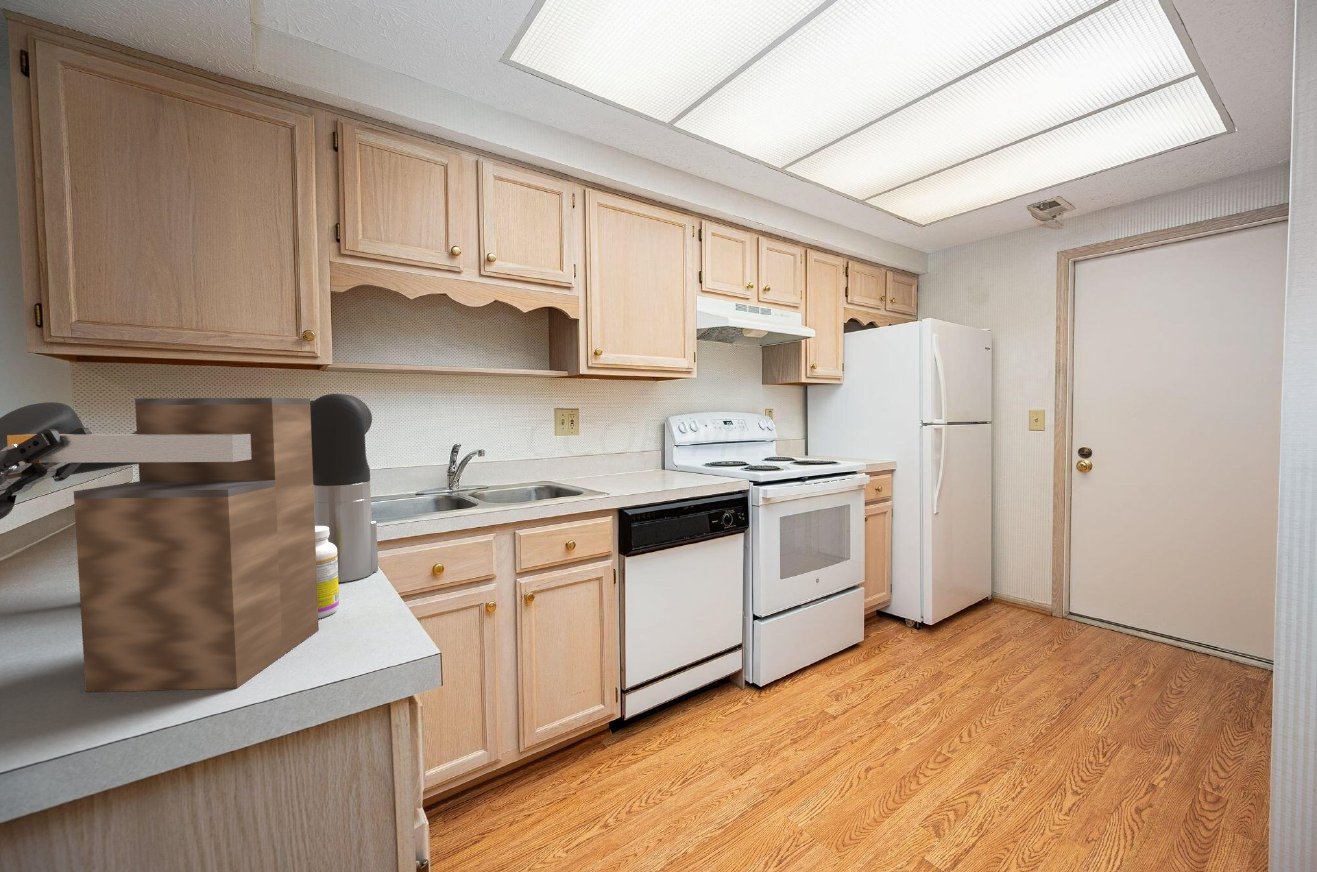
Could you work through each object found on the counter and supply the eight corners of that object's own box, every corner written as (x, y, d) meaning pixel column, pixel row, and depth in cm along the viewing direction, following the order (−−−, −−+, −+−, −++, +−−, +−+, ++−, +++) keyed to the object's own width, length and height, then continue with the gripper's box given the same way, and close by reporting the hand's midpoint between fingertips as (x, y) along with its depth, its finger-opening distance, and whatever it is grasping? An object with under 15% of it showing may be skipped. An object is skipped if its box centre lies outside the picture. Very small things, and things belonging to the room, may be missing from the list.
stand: (85, 692, 61) (67, 397, 60) (199, 633, 77) (187, 399, 76) (237, 688, 62) (223, 396, 60) (318, 630, 78) (309, 398, 76)
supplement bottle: (277, 617, 83) (274, 531, 82) (322, 603, 89) (319, 522, 88) (304, 625, 80) (301, 535, 79) (349, 610, 86) (346, 526, 85)
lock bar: (8, 462, 62) (7, 435, 62) (38, 460, 65) (37, 434, 65) (232, 462, 63) (231, 434, 63) (251, 459, 66) (250, 433, 66)
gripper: (-169, 492, 56) (-17, 406, 56) (-8, 475, 70) (113, 406, 70) (-125, 556, 57) (25, 470, 57) (26, 526, 71) (146, 458, 71)
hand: (73, 435), depth 64 cm, fingers closed on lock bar, 3 cm apart
